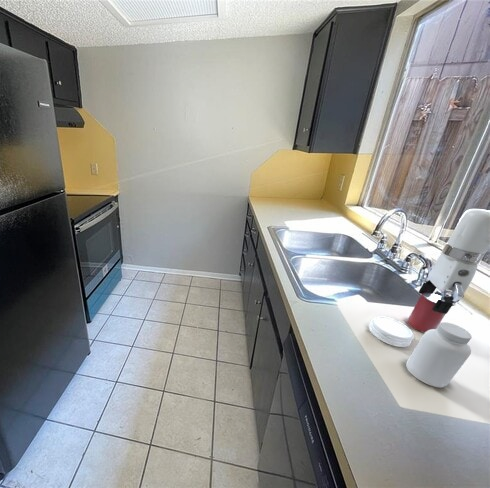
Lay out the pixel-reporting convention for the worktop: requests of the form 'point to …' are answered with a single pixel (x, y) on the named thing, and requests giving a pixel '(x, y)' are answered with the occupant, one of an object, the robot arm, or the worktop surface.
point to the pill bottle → (440, 354)
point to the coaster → (391, 331)
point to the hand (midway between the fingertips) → (431, 302)
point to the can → (425, 313)
